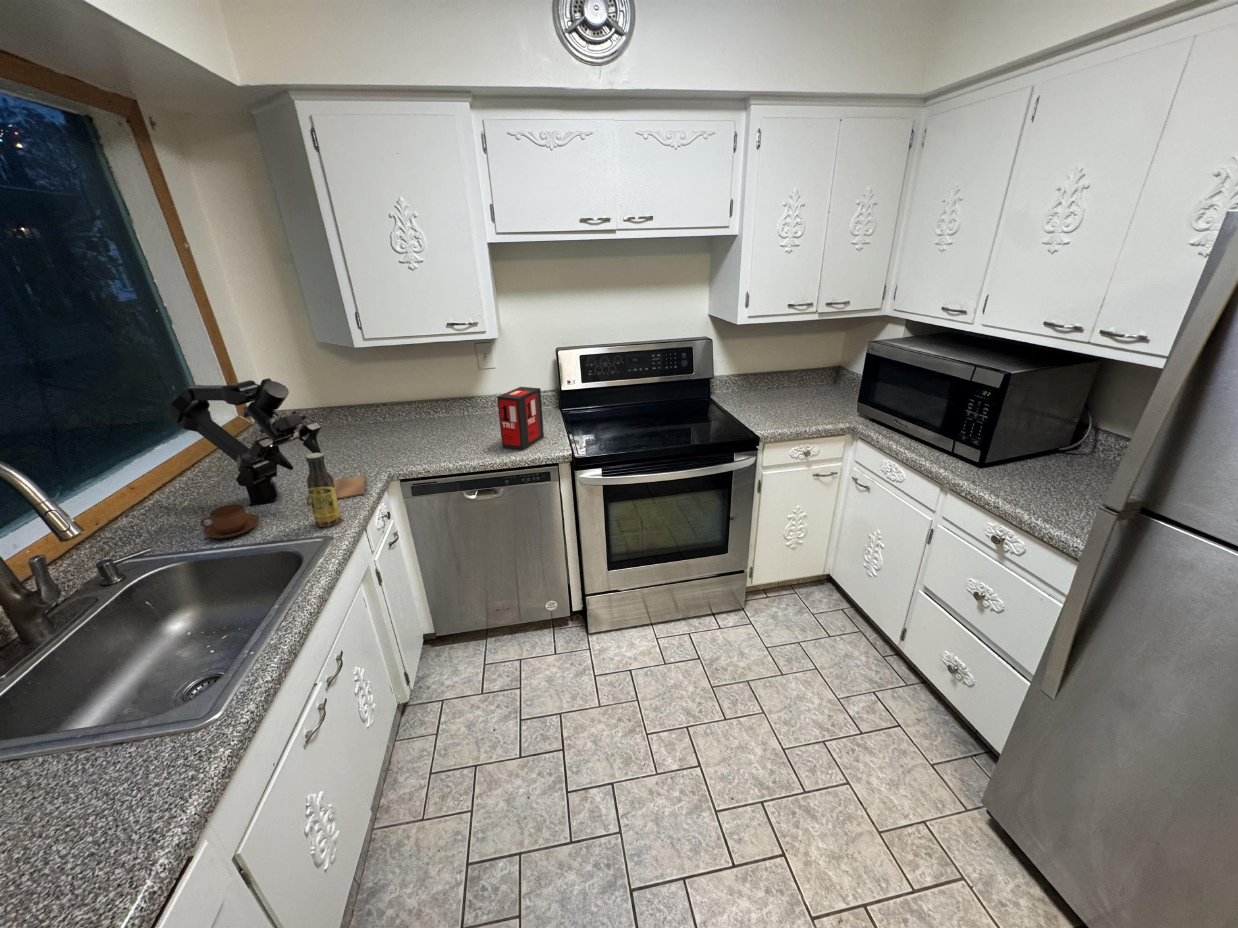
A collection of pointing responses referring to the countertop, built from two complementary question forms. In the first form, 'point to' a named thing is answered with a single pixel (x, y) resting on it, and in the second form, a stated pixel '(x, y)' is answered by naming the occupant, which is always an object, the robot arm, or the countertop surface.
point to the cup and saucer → (229, 521)
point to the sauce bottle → (322, 492)
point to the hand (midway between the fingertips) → (307, 463)
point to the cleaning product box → (520, 417)
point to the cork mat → (349, 487)
